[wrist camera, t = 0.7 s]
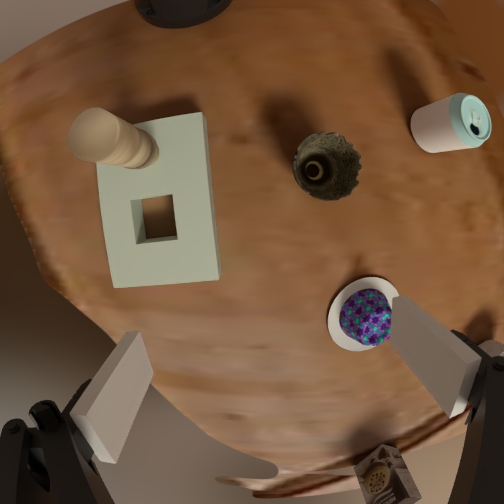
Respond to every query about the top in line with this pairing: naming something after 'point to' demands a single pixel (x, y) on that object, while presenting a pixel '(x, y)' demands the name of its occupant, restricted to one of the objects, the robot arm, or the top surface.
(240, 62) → the top surface
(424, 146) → the can
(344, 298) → the pudding
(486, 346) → the teacup
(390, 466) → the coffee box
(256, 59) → the top surface
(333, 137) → the cup
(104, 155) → the peg
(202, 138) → the board
